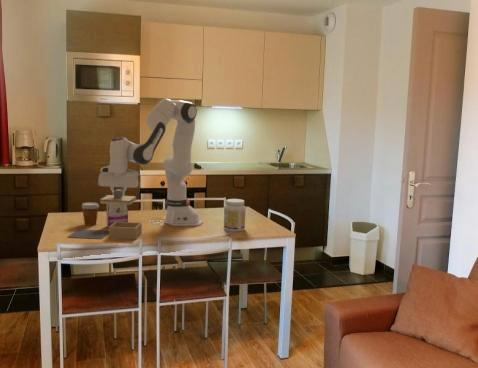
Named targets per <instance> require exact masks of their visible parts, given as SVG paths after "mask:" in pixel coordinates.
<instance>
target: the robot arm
mask: <svg viewBox="0 0 478 368" xmlns="http://www.w3.org/2000/svg"><path fill="white" fill-rule="evenodd" d="M197 112H198V109H197V106H196V105H195V104H194V103H192V102H191V101H187V100H180V99H179V100H178V99H177V100H176V99H175V100H174V99H169V98H163V99H161V100H160V101H159V102H158V103H157V104H155V106H153V108H152V109H151V111H150V112H149V113H148V114H147V116H146V117H147V118H146V124H147V126H148V128H149V129H150V130H151V132H150V134H149V136H148V138H147V139H146V141H145V142H144V143H142V144H141V143H139V144H138V143H134V142H132V141H130V140H128V139H127V138H126V136H119V137H114V138H112V139H111V141H110V145H109V157H110V160H109V165H105V166H102V167H101V168H100V173H99V175H98V181H97V182H98V183H97V185H98V186H100V187H108V188H109V190H110V191H111V193H112V194H111V195H114V191H115V190H114V188H115V187H116V188H122V190H123V192H121V196H125V193H126V191H127V189H129V188H130V189H131V188H132V189H133V188H134V189H135V188H138V186H139V175H140V173H139V171H138V170H137V169H130V168H128V162H132V163H136V164H139V165H148V164H149V163H150V162H151V161H152V160H153V157H154V154H155V152H156V149H157V147H158V145H159V144H160V142H161V141H162V138H163V136H164V134H165V132H166V127H167V125H168V124H169V123H170V121H171V120H172V119H173V120H176V122H177V124H176V127H175V130H174V135H173V139H172V144H171V145H172V150H173V151H172V155H170V156H168V157H166V158H164V160H163V164H162V166H163V169H164V172H165V178H166V184H167V187H166V188H167V196H166V197H167V198H166V203H165V204H166V205H165V206H166V214H165V219H164V222H163V223H165V224H166V225H170V226H173V227H178V226H179V227H181V226H182V227H191V226H192V227H196V226H197V227H198V226H202V224H203V219H201V218H200V216H199V212H198V211H197V210H196V209H195V208H194V207H192V206H191V205H190V203H191V202H190V201H191V200H190V199H188V198H187V184H186V182H185V177H188V176H190V175H191V173H192V171H193V165H192V159H191V158H192V157H191V156H192V152H191V151H192V145H193V140H194V135H195V131H196V129H195V128H196V116H197V115H198V113H197Z"/></svg>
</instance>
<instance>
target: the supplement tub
mask: <svg viewBox="0 0 478 368" xmlns="http://www.w3.org/2000/svg"><path fill="white" fill-rule="evenodd" d="M246 208H247V207H246V206H245V200H244V199H241V198H240V199H239V198H229V199H226V200H225V205H224V209H223V214H224V215H223V229H224V230H225V231H226V232H227V231H228V232H232V233H233V232H234V233H236V232H243V231H245V229H246Z"/></svg>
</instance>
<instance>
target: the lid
mask: <svg viewBox="0 0 478 368" xmlns="http://www.w3.org/2000/svg"><path fill="white" fill-rule="evenodd" d="M123 190H124V189H123V188H122V189H121V188H120V189H119V188H118V189H115V190H114V195H112V194H106V195H105V196H104V197H103V196H102V197H101V198H99V204H103V205H104V204H105V205H106V204H121V205H128V206H130V205H132V204H133V203H135V202H136V201H137V196H136V195H124V196H121V192H123Z"/></svg>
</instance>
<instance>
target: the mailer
mask: <svg viewBox="0 0 478 368" xmlns="http://www.w3.org/2000/svg"><path fill="white" fill-rule="evenodd" d="M142 225H143V224H142V222H133V221H128V222H115V223H113V224H112V225H111V226H110V227H109V228H108V231H109V234H108V239H115V240H116V239H119V240H137V239H138V238H139V237H140V236H141V235H142V234H143V233H142V231H143V230H142Z"/></svg>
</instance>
